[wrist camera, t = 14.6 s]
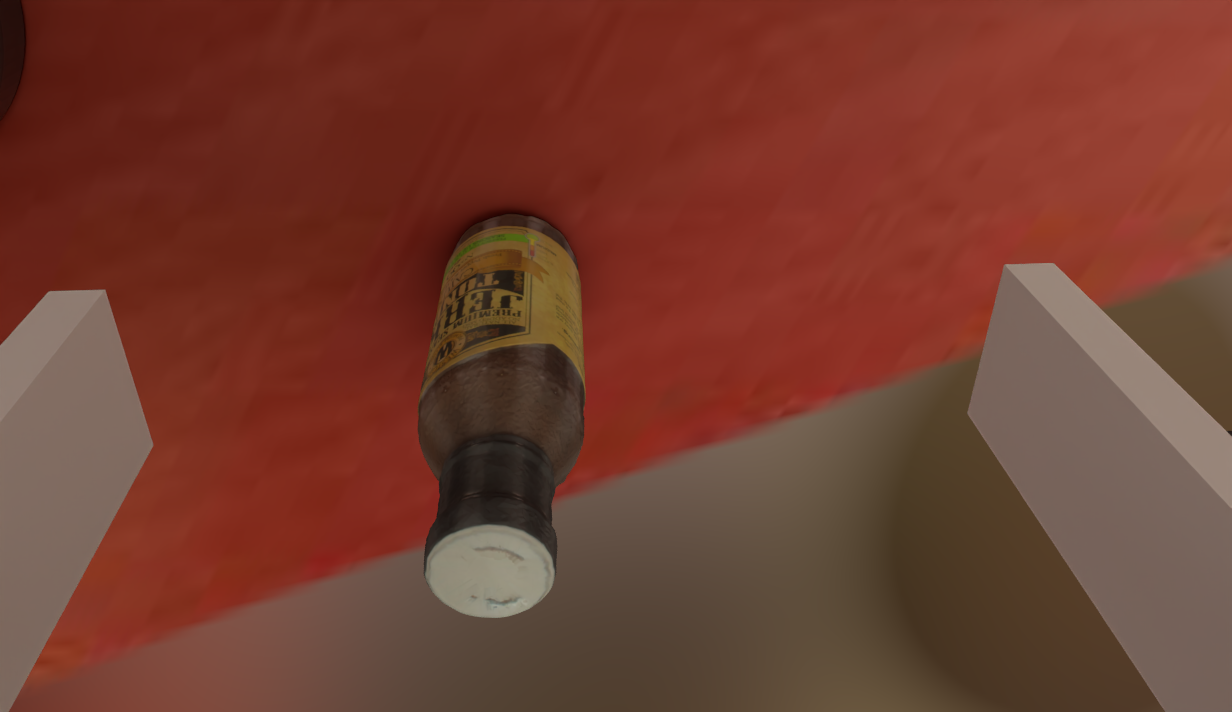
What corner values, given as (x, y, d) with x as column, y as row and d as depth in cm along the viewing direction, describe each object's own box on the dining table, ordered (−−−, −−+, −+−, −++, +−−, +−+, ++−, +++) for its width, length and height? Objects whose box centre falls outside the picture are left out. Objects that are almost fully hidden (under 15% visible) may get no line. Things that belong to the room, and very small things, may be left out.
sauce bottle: (516, 179, 43) (507, 451, 26) (604, 272, 46) (648, 570, 29) (415, 264, 45) (347, 569, 28) (506, 348, 48) (494, 671, 31)
